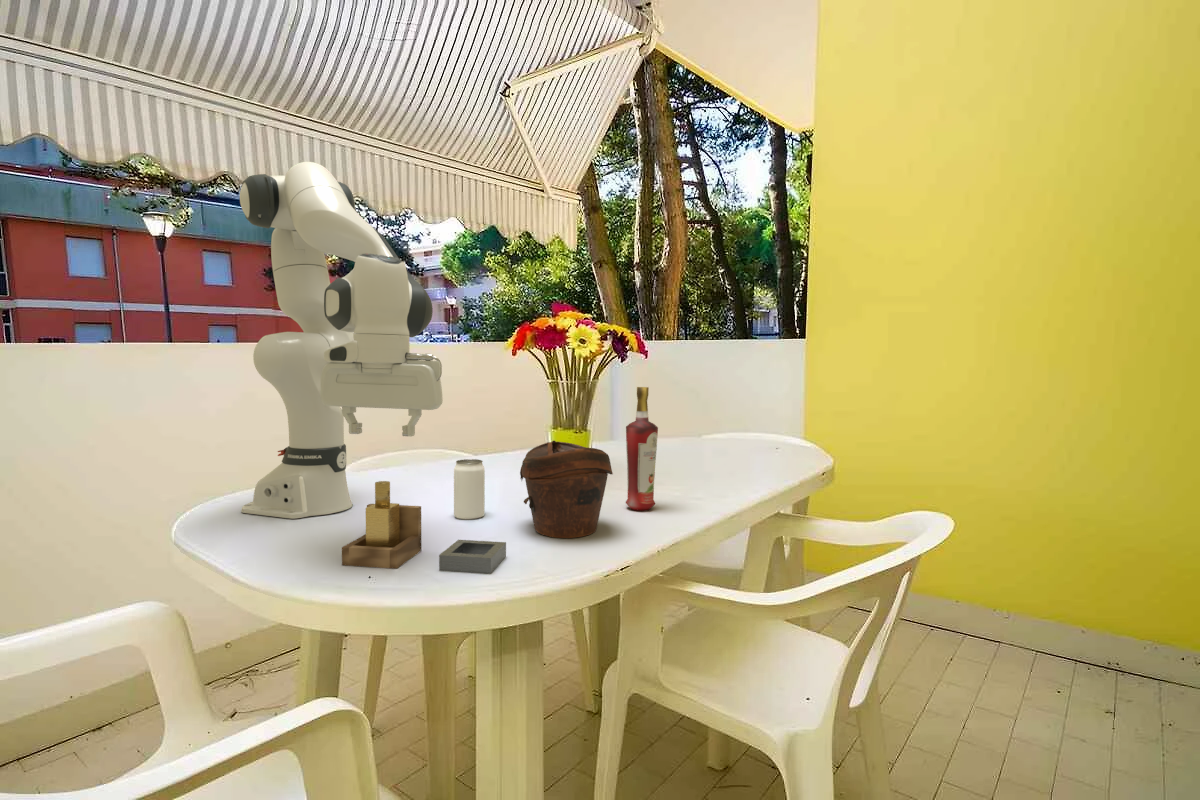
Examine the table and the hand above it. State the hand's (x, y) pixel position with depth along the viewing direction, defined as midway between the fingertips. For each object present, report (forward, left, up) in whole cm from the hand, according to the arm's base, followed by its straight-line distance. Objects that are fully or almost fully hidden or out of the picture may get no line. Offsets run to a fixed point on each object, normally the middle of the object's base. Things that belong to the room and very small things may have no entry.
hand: (381, 434), depth 104 cm
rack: (0, 0, -21) cm, 21 cm away
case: (+27, +23, -21) cm, 41 cm away
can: (+5, +29, -21) cm, 36 cm away
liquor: (+41, +43, -21) cm, 63 cm away
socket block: (+16, 0, -21) cm, 27 cm away
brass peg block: (0, 0, -21) cm, 21 cm away
